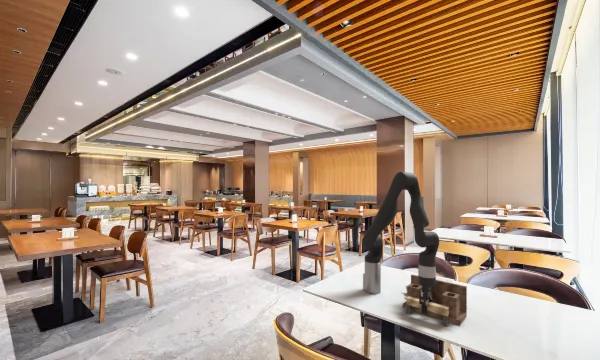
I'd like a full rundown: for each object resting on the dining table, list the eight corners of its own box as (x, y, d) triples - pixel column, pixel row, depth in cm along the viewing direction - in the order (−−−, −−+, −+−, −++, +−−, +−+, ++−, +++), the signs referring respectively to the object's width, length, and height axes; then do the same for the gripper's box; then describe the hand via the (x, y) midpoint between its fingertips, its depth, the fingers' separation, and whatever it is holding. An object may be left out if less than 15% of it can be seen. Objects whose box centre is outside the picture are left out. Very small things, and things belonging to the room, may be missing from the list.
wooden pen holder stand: (402, 307, 143) (402, 279, 143) (411, 300, 152) (411, 274, 152) (460, 325, 125) (460, 293, 125) (466, 315, 134) (466, 286, 134)
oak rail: (406, 313, 136) (406, 298, 136) (408, 311, 138) (408, 296, 138) (447, 326, 124) (447, 309, 124) (449, 324, 126) (449, 307, 126)
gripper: (423, 269, 139) (423, 303, 139) (413, 276, 128) (412, 313, 128) (440, 273, 134) (440, 308, 134) (430, 280, 123) (430, 318, 123)
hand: (426, 310), depth 131 cm, fingers open, 6 cm apart
